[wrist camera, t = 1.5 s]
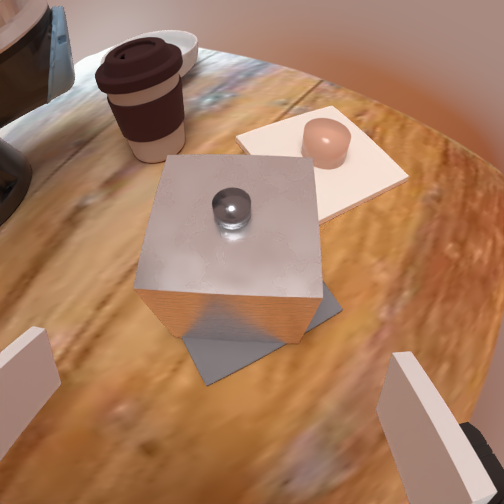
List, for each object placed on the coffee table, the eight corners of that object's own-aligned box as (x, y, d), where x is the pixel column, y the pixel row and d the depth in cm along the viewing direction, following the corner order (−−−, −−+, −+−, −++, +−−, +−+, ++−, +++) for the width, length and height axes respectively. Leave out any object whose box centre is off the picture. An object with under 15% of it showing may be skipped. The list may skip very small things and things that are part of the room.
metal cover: (189, 232, 33) (164, 143, 23) (297, 236, 33) (314, 146, 22) (174, 336, 28) (126, 279, 17) (298, 343, 28) (327, 289, 17)
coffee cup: (207, 127, 42) (195, 30, 29) (175, 178, 38) (148, 70, 25) (146, 120, 44) (124, 33, 31) (111, 166, 39) (73, 73, 26)
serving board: (235, 141, 41) (235, 136, 40) (331, 110, 44) (332, 105, 44) (306, 231, 34) (308, 225, 33) (406, 181, 38) (408, 176, 37)
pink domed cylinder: (292, 146, 39) (294, 124, 36) (327, 134, 40) (331, 113, 37) (318, 175, 36) (323, 153, 33) (354, 160, 38) (360, 140, 35)
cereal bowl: (142, 117, 44) (131, 79, 38) (95, 91, 50) (85, 61, 44) (221, 72, 51) (218, 37, 44) (165, 53, 56) (160, 24, 50)
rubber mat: (147, 260, 32) (145, 258, 32) (266, 205, 35) (266, 202, 35) (207, 386, 26) (206, 385, 26) (341, 311, 29) (342, 309, 29)
